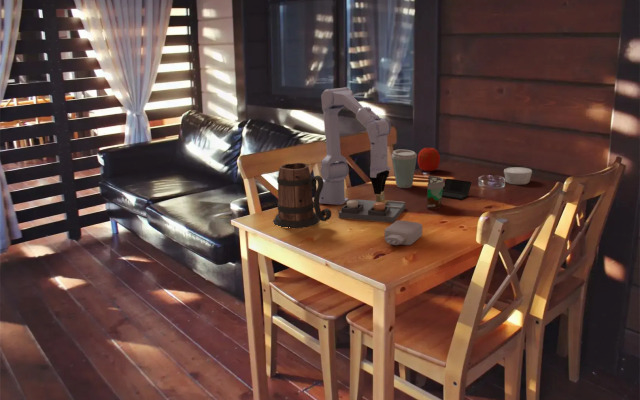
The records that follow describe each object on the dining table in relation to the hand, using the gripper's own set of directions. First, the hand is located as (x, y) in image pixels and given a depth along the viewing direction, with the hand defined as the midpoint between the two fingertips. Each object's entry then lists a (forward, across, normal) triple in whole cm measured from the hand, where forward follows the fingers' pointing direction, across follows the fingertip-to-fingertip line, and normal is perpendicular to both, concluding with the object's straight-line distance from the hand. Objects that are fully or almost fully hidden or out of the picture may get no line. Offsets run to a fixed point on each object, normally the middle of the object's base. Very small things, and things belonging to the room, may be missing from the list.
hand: (379, 192), depth 206 cm
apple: (+10, +72, -2) cm, 73 cm away
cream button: (+6, 0, +10) cm, 12 cm away
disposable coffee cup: (+10, +44, +2) cm, 45 cm away
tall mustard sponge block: (+7, +10, +2) cm, 12 cm away
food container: (+10, +20, -16) cm, 28 cm away
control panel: (+9, +5, +4) cm, 11 cm away
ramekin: (+10, +62, -42) cm, 76 cm away
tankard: (+10, -12, +24) cm, 29 cm away
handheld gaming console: (+10, +36, -20) cm, 42 cm away
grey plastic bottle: (+10, -21, -13) cm, 26 cm away
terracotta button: (+6, 0, 0) cm, 6 cm away
